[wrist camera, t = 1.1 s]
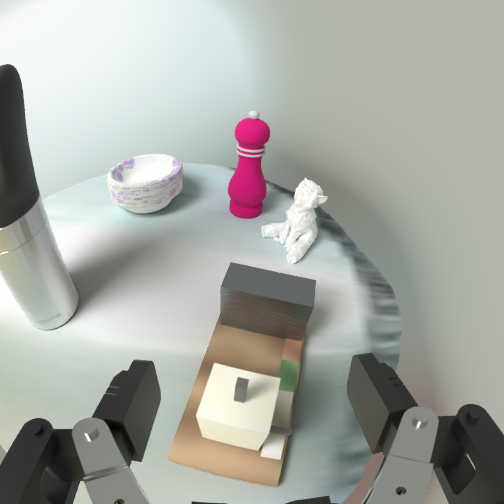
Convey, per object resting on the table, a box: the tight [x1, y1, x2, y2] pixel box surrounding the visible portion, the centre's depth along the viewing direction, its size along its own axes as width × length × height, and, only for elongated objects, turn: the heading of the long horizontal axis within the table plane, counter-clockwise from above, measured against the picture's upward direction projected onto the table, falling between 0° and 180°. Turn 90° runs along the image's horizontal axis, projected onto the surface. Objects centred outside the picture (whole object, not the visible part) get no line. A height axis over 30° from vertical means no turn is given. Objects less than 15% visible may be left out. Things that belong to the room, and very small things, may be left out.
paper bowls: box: [107, 154, 183, 213], centre depth 55 cm, size 15×15×8 cm
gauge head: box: [196, 363, 293, 451], centre depth 22 cm, size 5×8×11 cm, turn 77°
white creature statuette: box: [261, 178, 328, 264], centre depth 48 cm, size 10×9×12 cm
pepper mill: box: [228, 110, 270, 218], centre depth 51 cm, size 7×7×20 cm
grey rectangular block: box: [220, 262, 316, 341], centre depth 35 cm, size 4×10×7 cm, turn 77°
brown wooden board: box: [167, 314, 306, 487], centre depth 30 cm, size 22×11×1 cm, turn 167°
